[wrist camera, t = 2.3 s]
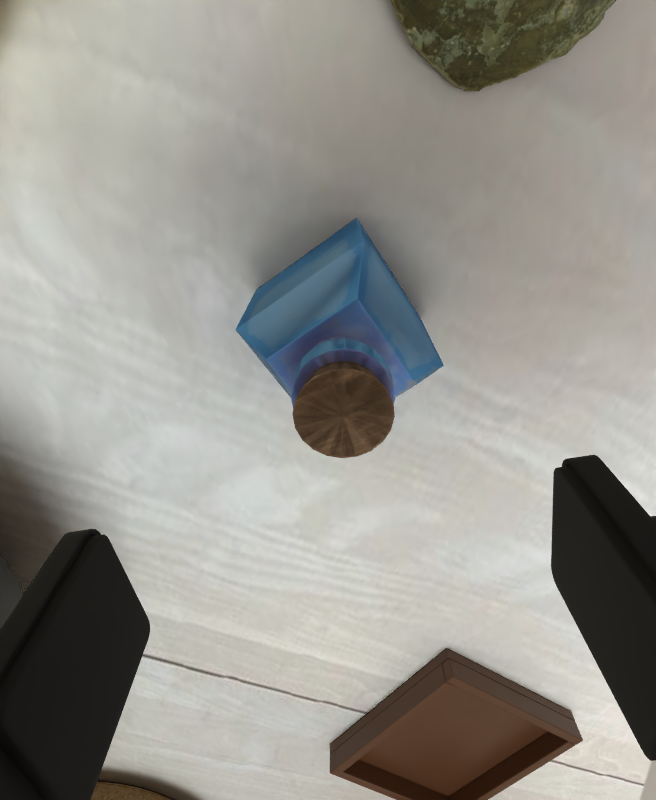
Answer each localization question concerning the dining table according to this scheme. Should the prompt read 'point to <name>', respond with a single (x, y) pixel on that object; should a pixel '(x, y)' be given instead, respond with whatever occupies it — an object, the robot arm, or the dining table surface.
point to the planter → (123, 792)
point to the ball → (8, 591)
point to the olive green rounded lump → (495, 34)
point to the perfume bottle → (340, 342)
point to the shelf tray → (453, 735)
